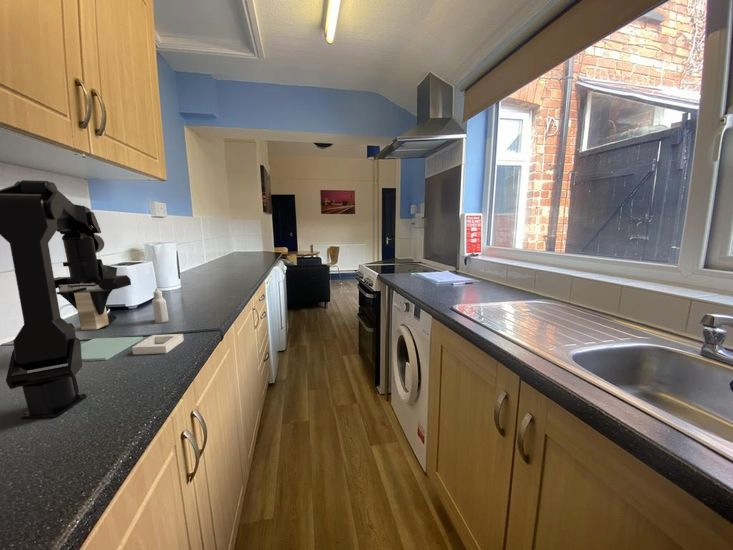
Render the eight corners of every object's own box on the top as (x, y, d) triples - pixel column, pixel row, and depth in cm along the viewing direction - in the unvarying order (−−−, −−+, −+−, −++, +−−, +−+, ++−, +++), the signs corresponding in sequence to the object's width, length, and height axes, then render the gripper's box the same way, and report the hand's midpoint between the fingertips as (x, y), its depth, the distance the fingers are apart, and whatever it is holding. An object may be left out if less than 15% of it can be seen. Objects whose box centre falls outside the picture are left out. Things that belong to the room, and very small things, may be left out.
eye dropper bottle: (170, 317, 109) (165, 285, 107) (168, 322, 104) (163, 288, 102) (155, 319, 107) (150, 287, 105) (153, 324, 102) (147, 290, 100)
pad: (106, 360, 76) (105, 357, 76) (48, 362, 76) (47, 360, 76) (143, 338, 90) (142, 336, 90) (94, 340, 89) (93, 338, 89)
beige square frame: (166, 353, 80) (165, 346, 79) (133, 354, 79) (131, 347, 79) (183, 340, 88) (182, 333, 88) (153, 341, 88) (152, 335, 87)
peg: (97, 329, 80) (90, 292, 78) (81, 329, 80) (73, 293, 78) (108, 324, 84) (102, 289, 82) (93, 324, 84) (87, 289, 82)
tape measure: (107, 329, 99) (105, 318, 99) (82, 331, 97) (79, 320, 97) (117, 322, 106) (115, 312, 105) (93, 324, 104) (91, 314, 103)
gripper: (140, 252, 87) (148, 304, 89) (72, 254, 86) (82, 307, 88) (110, 257, 76) (120, 316, 78) (31, 259, 75) (45, 319, 77)
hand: (92, 314), depth 81 cm, fingers closed on peg, 4 cm apart
